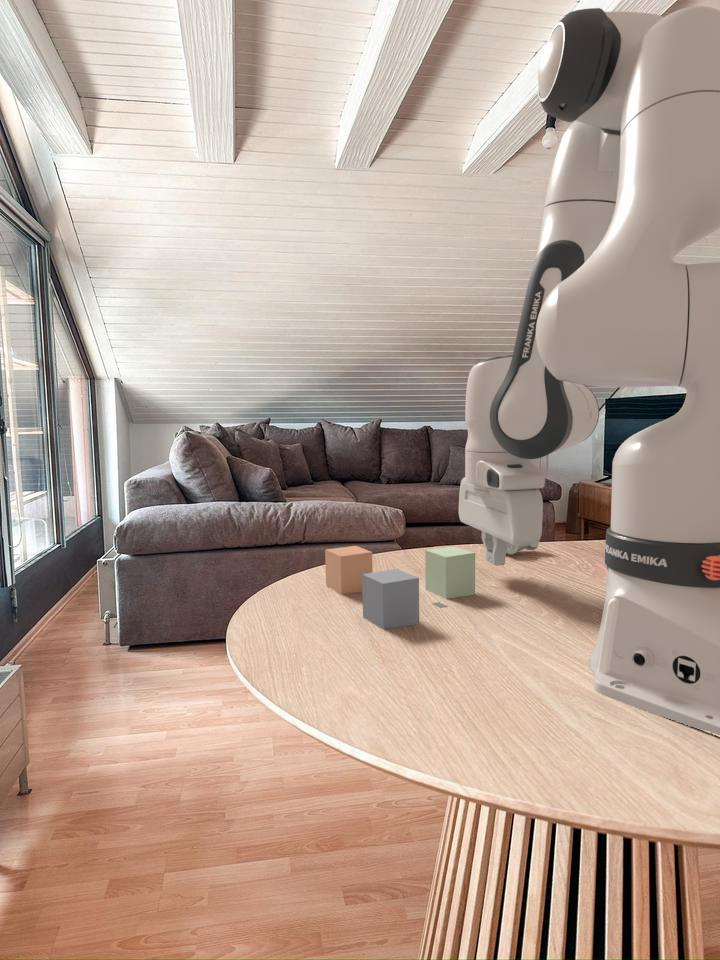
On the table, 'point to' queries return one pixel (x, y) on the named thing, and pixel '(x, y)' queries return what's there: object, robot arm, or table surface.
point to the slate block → (391, 598)
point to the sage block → (450, 572)
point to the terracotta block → (347, 568)
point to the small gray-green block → (439, 604)
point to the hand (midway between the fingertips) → (495, 563)
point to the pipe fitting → (520, 548)
